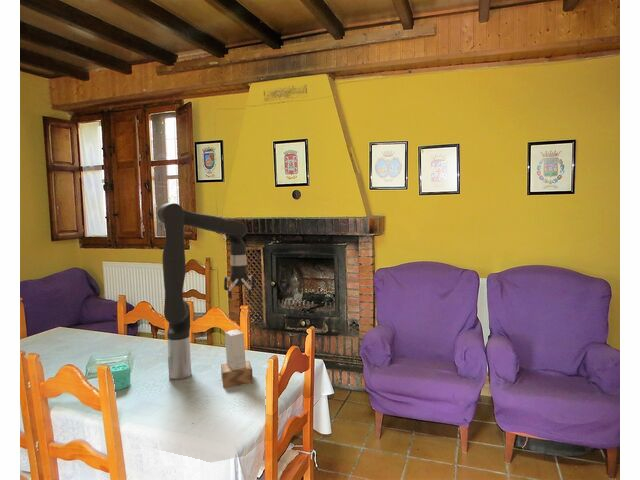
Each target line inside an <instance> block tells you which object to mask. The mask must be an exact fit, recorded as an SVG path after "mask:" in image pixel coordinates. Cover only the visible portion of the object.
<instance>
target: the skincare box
mask: <svg viewBox="0 0 640 480" xmlns="http://www.w3.org/2000/svg"><path fill="white" fill-rule="evenodd" d="M244 336H245V335H244V332H242V331H240V330H239V329H237V328H236V329H231V330H227V331H224V339H225V340H224V341H225V354H226V364H227V365H228V366H229V367H230V368H231V369H232V370H237V369H243V368H246V361H247V360H246V352H245V351H246V350H245V340H244V339H245V337H244Z"/></svg>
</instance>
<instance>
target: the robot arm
mask: <svg viewBox="0 0 640 480" xmlns="http://www.w3.org/2000/svg"><path fill="white" fill-rule="evenodd" d="M157 218H158V219H159V221H160V222H161V223H163V224H164V231H165V241H164V246H163V250H162V272H163V287H164V304H163V305H164V308H163V317H164V318H165V320H166V322H167V323H168V330H167V332H166V333H167V334H166V339H167V353H168V354H167V356H168V358H167V362H168V363H167V365H168V366H167V367H168V380H183V379H186V378H189V377H190V376H191V375H192V361H191V359H192V358H191V356H192V354H191V339H190V338H191V337H190V331H191V330H190V329H191V309H190V305H189V303H188V302H187V301H186V300H184V293H183V292H184V284H185V278H186V271H187V270H186V268H187V267H186V254H185V251H186V250H185V240H184V237H185V236H184V229H185V228H184V227H185V226H189V227H194V228H197V229H200V230H205V231H208V232H213V233H219V234H227V237H228V241H229V245H230V258H229V259H230V262H229V263H230V276H228V277H227V276H224V278H223V290H224V291H227V296H228V298H229V299H230V300H231V299H233V298H232V296H233V294H232V289H233V288H234V287H235V286H237V287H239V286H244V285H245V287H246V288H247V298H251V296H252V289H255V288H256V285H255V284H256V283H255V276H254V275H253V274H251V275H248V263H247V262H248V259H247V247H246V243H245V242H244V241H243V237H245V236H246V235H247V233H248V226H247V225H246V223H245V222H242V221H238V220H233V219H226V218H223V217H220V216H216V215H211V214H204V213H199V212H192V211H189V210H186V209H183V207H182V206H181V205H180V204H178V203H175V202H172V203H171V202H170V203H169V202H168V203H167V202H166V203H164V204H162V205H161V206H160V207H159V208H158V209H157ZM248 280H250V282H251V284H249V283H248V282H247V281H248ZM229 281H231V283H230V285H229V287H228V282H229Z"/></svg>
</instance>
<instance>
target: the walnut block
mask: <svg viewBox="0 0 640 480" xmlns="http://www.w3.org/2000/svg"><path fill="white" fill-rule="evenodd" d="M245 361H246V368H243V369H237V370H232V369H231V368H230V367H229V366H228V365H227V363H221V364H220V369H221V370H220V371H221V372H220V375H221V381H222V387H223V388H229V387H235V386H243V385H249V384H253V383H254V377H253V368H252V365H251V362H250V360H245Z"/></svg>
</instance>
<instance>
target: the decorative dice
mask: <svg viewBox="0 0 640 480" xmlns="http://www.w3.org/2000/svg"><path fill="white" fill-rule="evenodd" d="M109 368H110V369H111V372H112V375H113V379H114V384H115V389H116V390H115V391H119V390H124V389H126V388H129V386H130V385H131V367H130V365H129V364H126V363H121V364H115V365H112V366H110V367H109Z"/></svg>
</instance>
